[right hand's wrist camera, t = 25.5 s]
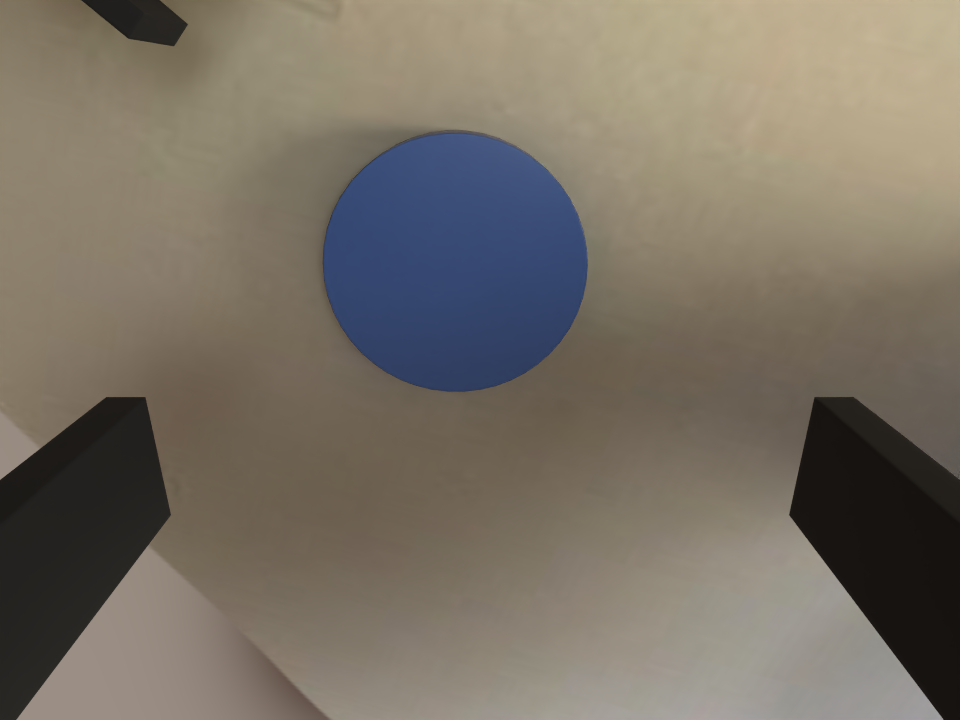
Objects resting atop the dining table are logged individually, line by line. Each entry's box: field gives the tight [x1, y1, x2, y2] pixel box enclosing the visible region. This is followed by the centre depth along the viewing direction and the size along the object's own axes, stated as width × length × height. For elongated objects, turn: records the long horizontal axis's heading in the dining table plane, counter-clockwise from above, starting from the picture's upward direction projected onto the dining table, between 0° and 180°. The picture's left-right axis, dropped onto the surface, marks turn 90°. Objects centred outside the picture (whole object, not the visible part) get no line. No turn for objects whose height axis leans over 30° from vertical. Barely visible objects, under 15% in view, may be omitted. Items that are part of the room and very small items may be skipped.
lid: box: [323, 130, 588, 392], centre depth 25 cm, size 10×10×2 cm
